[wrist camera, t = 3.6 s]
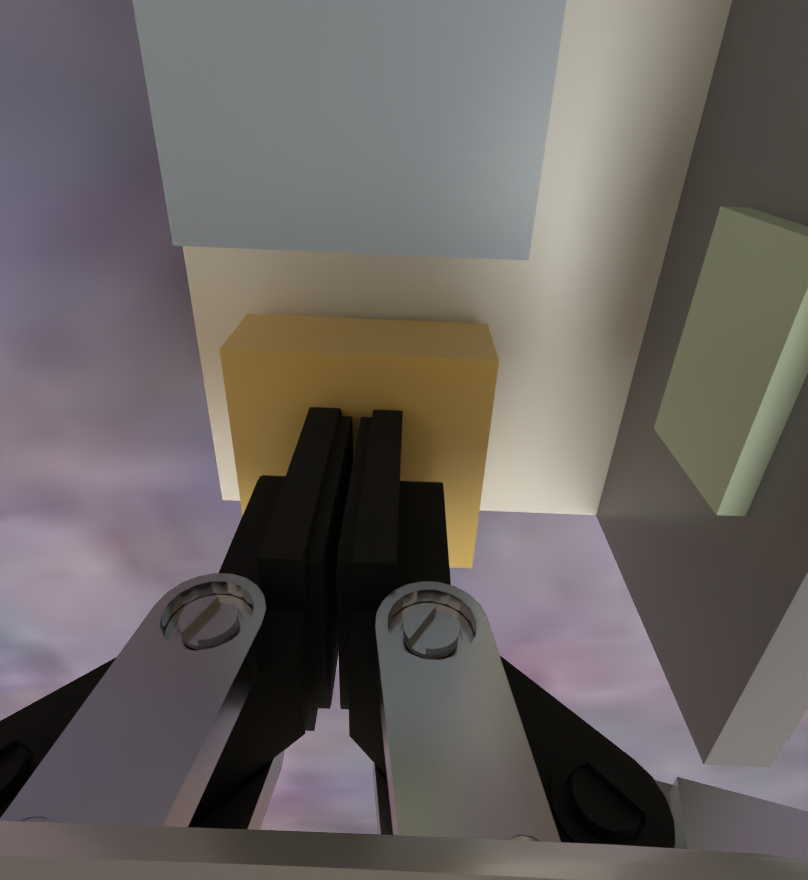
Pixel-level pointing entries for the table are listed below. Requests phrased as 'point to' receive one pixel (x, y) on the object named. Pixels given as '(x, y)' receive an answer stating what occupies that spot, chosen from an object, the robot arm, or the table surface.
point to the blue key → (352, 122)
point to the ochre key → (367, 399)
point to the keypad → (634, 339)
